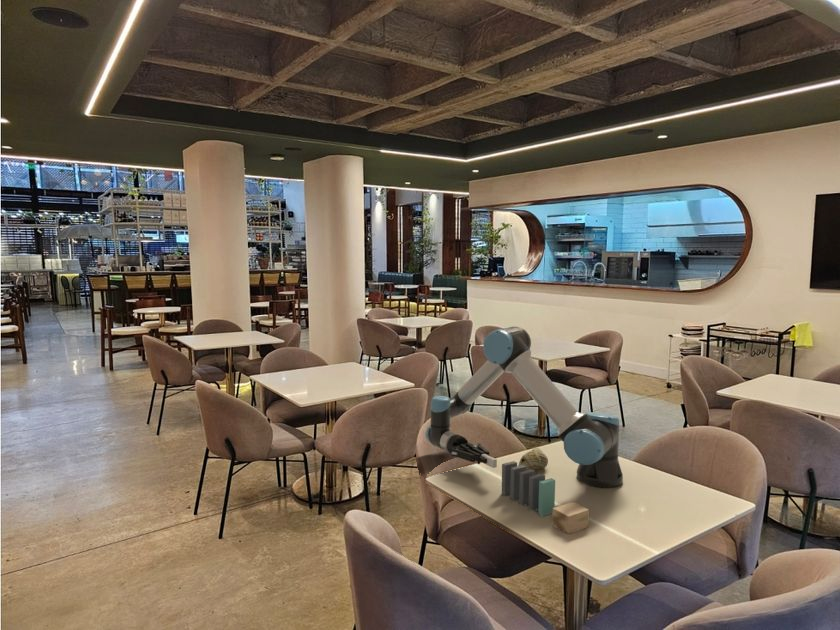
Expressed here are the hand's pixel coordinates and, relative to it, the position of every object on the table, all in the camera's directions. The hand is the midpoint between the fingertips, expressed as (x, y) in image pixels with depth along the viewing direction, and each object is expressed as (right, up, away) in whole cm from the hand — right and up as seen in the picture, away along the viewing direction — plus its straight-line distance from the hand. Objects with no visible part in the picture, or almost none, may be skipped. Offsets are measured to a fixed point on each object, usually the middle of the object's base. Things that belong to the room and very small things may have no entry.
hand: (494, 463), depth 179 cm
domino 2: (+6, -8, -9) cm, 14 cm away
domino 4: (+10, -9, -16) cm, 21 cm away
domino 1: (+4, -8, -6) cm, 10 cm away
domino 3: (+8, -9, -13) cm, 17 cm away
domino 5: (+13, -9, -20) cm, 25 cm away
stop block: (+17, -10, -28) cm, 34 cm away
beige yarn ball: (+16, -7, +16) cm, 24 cm away
